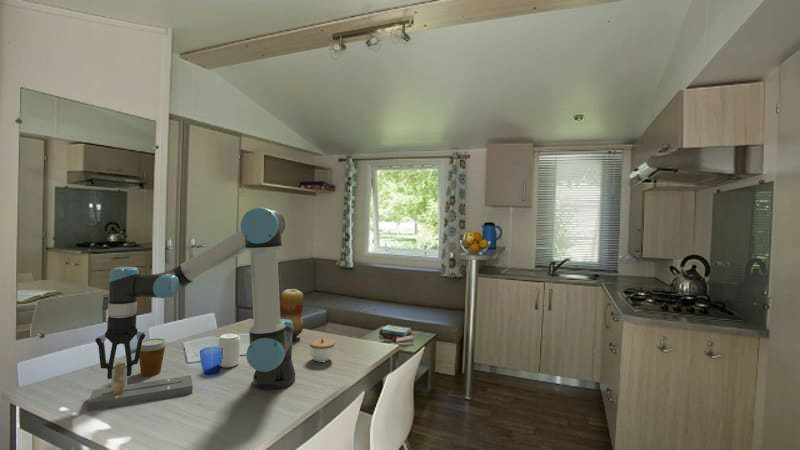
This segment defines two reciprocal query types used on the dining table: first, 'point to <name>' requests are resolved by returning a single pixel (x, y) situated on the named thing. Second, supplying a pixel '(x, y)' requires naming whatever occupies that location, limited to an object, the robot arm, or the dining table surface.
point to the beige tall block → (119, 377)
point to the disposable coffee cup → (151, 356)
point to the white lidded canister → (230, 349)
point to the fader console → (140, 392)
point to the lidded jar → (321, 349)
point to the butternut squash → (292, 309)
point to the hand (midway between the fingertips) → (119, 387)
